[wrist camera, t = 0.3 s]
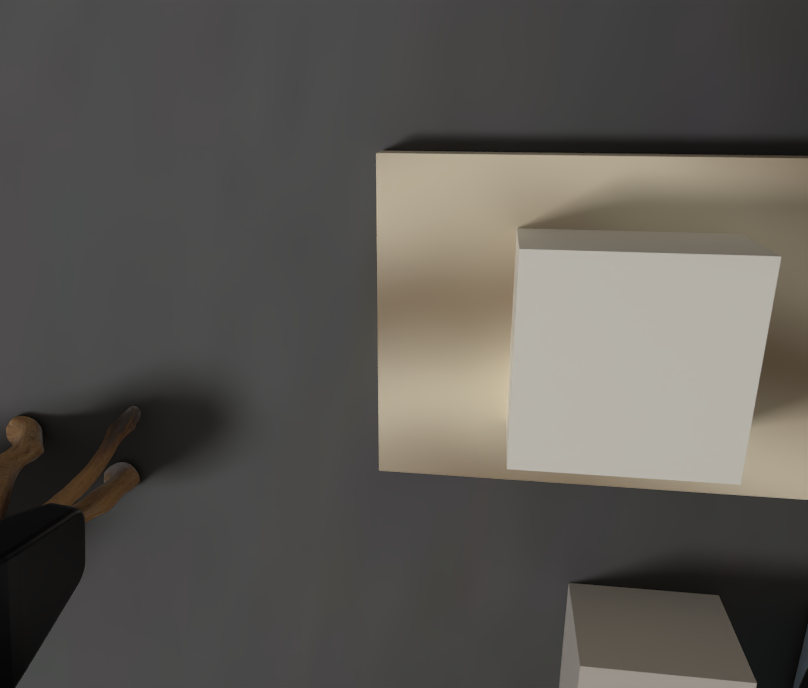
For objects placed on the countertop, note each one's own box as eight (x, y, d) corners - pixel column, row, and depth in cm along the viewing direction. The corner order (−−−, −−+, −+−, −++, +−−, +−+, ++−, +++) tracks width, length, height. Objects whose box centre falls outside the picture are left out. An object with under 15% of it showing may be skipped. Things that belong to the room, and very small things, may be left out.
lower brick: (708, 433, 21) (740, 484, 18) (506, 421, 22) (506, 469, 19) (740, 233, 19) (781, 256, 16) (516, 227, 20) (519, 248, 17)
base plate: (823, 484, 22) (837, 501, 21) (383, 456, 24) (379, 470, 23) (896, 156, 19) (917, 159, 18) (381, 150, 21) (376, 152, 20)
